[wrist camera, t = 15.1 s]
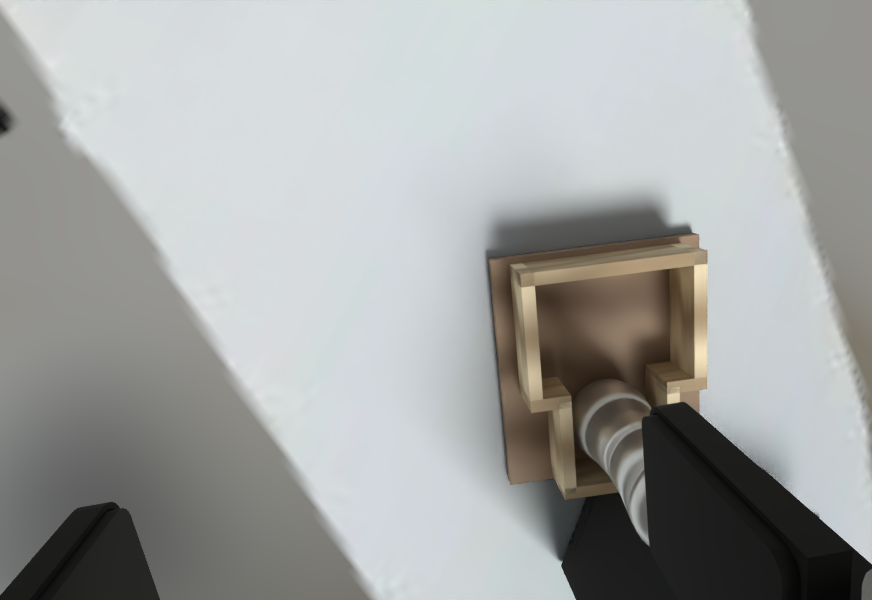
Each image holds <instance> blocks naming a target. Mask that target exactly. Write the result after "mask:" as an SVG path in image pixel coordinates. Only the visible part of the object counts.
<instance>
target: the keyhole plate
mask: <svg viewBox="0 0 872 600" xmlns="http://www.w3.org/2000/svg"><path fill="white" fill-rule="evenodd" d="M488 262H489V273H490V284H491V295H492V306H493V317H494V328H495V338H496V349H497V360H498V371H499V382H500V393H501V404H502V414H503V425H504V436H505V447H506V458H507V469H508V479H509V482H510V484H511V485H513V484H520V483H527V482H534V481H541V480H548V479H555V481H556V483H557V485H558V487H559V489H560V491H561V493H562V495H563V497H564V499H565V500H569V499H576V498H583V497H590V496H596V495H603V494H610V493H617V492H618V490H617V489H616V487H615V485H614V483H613V482H612V480H611V478H610V477H609V475H608V474H607V473H606V472H605V471H604V470H603V469H602V468H601V466H600V465H599V464H598V463H597V462H596V461H594V460H593V459H592V458H590V457H589V456H588V455H587V454H586V453H585V452H584V451H583V450H582V449H581V448H580V447H579V446H578V445H577V443H576V442H575V440H574V435H573V418H572V402H573V400H574V398H575V397H576V395H577V394H578V393H579V392H580V391H581V390H582V389H583V388H584V387H585V386H587V385H588V384H590V383H592V382H594V381H597V380H601V379H617V380H620V381H622V382H625V383H627V384H629V385H631V386H633V387H634V388H636V389H637V390H639V392H640V393H641V394H642V395H643V396H644V397H645V399H646V400H647V402H648V403H649V405H650V407H651V408H652V407H655V406H661V405H666V404H672V403H678V402H685V403H687V404H688V405H690V406H691V407H692V408H693V409H694V410H695V411H696V412H697V413H699V390H702V389H707V250H704V249H700V248H699V234H695V233H689V234H681V235H673V236H665V237H657V238H649V239H641V240H633V241H625V242H617V243H609V244H601V245H593V246H585V247H577V248H569V249H561V250H553V251H545V252H537V253H529V254H521V255H513V256H505V257H497V258H489V259H488Z"/></svg>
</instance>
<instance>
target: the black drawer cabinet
mask: <svg viewBox="0 0 872 600" xmlns="http://www.w3.org/2000/svg"><path fill="white" fill-rule="evenodd" d="M581 513H582V514H581V515H580V518H579V521H578V523H577V525H576V529H575V531H574V533H573V535H572V538H571V540H570V542H569V547H568V549H567V552H566V554H565V557H564V560H563V562H562V565H561V567H562V569H563V571H564V574H565V576H566V578H567V580H568V582H569V585H570V587H571V589H572V592H573V594H574V596H575V598H576V600H679V599H678V597H677V595H676V594H675V592H674V591H673V589H672V587H671V586H670V584H669V583H668V581H667V580H666V578H665V576H664V575H663V573H662V572H661V570H660V568H659V567H658V565H657V564H656V562H655V560H654V558H653V555H652V552H651V549H650V546H648V545H647V544H646V543H645V542H644V541H643V540H642V539H641V537H640V536H639V534H638V533H637V531H636V529H635V527H634V525H633V524H632V521H631V519H630V517H629V514H628V512H627V510H626V507H625V505H624V503H623V500H622V498H621V496H620V494H619V492H617V493H610V494H603V495H596V496H590V497H587V499H586V502H585V504H584V506H583V509H582V512H581Z"/></svg>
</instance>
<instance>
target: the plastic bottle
mask: <svg viewBox="0 0 872 600" xmlns="http://www.w3.org/2000/svg"><path fill="white" fill-rule="evenodd" d="M650 411H651V407H650V405H649V403H648V402H647V400H646V399H645V397H644V396H643V395H642V394H641V393H640V392H639V390H637V389H636V388H634V387H633V386H631V385H629V384H627V383H625V382H622V381H620V380H617V379H601V380H597V381H594V382H592V383H590V384H588V385H587V386H585V387H584V388H583V389H582V390H581V391H580V392H579V393H578V394H577V395H576V397H575V398H574V400H573V402H572V418H573V435H574V440H575V442H576V443H577V445H578V446H579V447H580V448H581V449H582V450H583V451H584V452H585V453H586V454H587V455H588V456H589V457H590V458H592V459H593V460H594V461H596V462H597V463H598V464H599V465H600V466H601V468H602V469H603V470H604V471H605V472H606V473H607V474H608V475H609V477H610V478H611V480H612V482H613V483H614V485H615V487H616V489H617V490H618V492H619V494H620V496H621V498H622V500H623V503H624V505H625V507H626V510H627V512H628V514H629V517H630V519H631V521H632V524H633V525H634V527H635V529H636V531H637V533H638V534H639V536H640V537H641V539H642V540H643V541H644V542H645V543H646V544H647V545H648V546H650V545H649V538H648V522H647V505H646V489H645V473H644V456H643V440H642V418H643V417H645V416H650Z"/></svg>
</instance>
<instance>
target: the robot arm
mask: <svg viewBox="0 0 872 600" xmlns="http://www.w3.org/2000/svg"><path fill="white" fill-rule="evenodd" d="M642 440H643V456H644V473H645V489H646V505H647V522H648V538H649V545H650V549H651V552H652V555H653V558H654V560H655V562H656V564H657V565H658V567H659V568H660V570H661V572H662V573H663V575H664V576H665V578H666V580H667V581H668V583H669V584H670V586H671V587H672V589H673V591H674V592H675V594H676V595H677V597H678V599H679V600H872V564H871V563H869V562H868V561H867V560H866V559H865V558H864V557H863V556H861V555H860V554H859V553H858V552H857V551H856V550H855V549H853V548H852V547H851V546H850V545H849V544H848V543H847V542H846V541H844V540H843V539H842V538H841V537H840V536H839V535H838V534H836V533H835V532H834V531H833V530H832V529H831V528H830V527H828V526H827V525H826V524H825V523H824V522H823V521H822V520H821V519H819V518H818V517H817V516H816V515H815V514H814V513H813V512H811V511H810V510H809V509H808V508H807V507H806V506H805V505H803V504H802V503H801V502H800V501H799V500H798V499H797V498H795V497H794V496H793V495H792V494H791V493H790V492H789V491H788V490H786V489H785V488H784V487H783V486H782V485H781V484H780V483H778V482H777V481H776V480H775V479H774V478H773V477H772V476H770V475H769V474H768V473H767V472H766V471H765V470H763V469H762V468H760V467H759V466H757V465H756V464H755V463H754V462H753V461H752V460H751V459H750V458H748V457H747V456H746V455H745V454H744V453H743V452H742V451H740V450H739V449H738V448H737V447H736V446H735V445H734V444H733V443H731V442H730V441H729V440H728V439H727V438H726V437H725V436H723V435H722V434H721V433H720V432H719V431H718V430H717V429H716V428H714V427H713V426H712V425H711V424H710V423H709V422H708V421H707V420H705V419H704V418H703V417H702V416H701V415H700V414H699V413H697V412H696V411H695V410H694V409H693V408H692V407H691V406H690V405H688V404H687V403H685V402H678V403H672V404H666V405H661V406H655V407H652V408H651V411H650V416H645V417H643V418H642ZM0 600H160V598H159V595H158V593H157V590H156V587H155V584H154V581H153V578H152V575H151V573H150V570H149V567H148V564H147V561H146V558H145V555H144V552H143V550H142V547H141V544H140V541H139V538H138V535H137V532H136V530H135V527H134V524H133V521H132V518H131V515H130V513H129V512H128V511H127V509H123V508H122V509H120V508H119V506H118V505H117V504H116V503H113V502H108V503H103V504H97V505H91V506H86V507H80V508H77V509H76V510H74V511H73V512H72V513H71V514H70V516H69V517H68V518H67V519H66V520H65V521H64V523H63V524H62V525H61V526H60V527H59V528H58V530H57V531H56V532H55V533H54V534H53V535H52V536H51V538H50V539H49V540H48V541H47V542H46V543H45V545H44V546H43V547H42V548H41V549H40V550H39V551H38V553H37V554H36V555H35V556H34V557H33V558H32V559H31V561H30V562H29V563H28V564H27V565H26V566H25V568H24V569H23V570H22V571H21V572H20V573H19V575H18V576H17V577H16V578H15V579H14V580H13V581H12V583H11V584H10V585H9V586H8V587H7V588H6V590H5V591H4V592H3V593H2V594H1V595H0Z"/></svg>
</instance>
